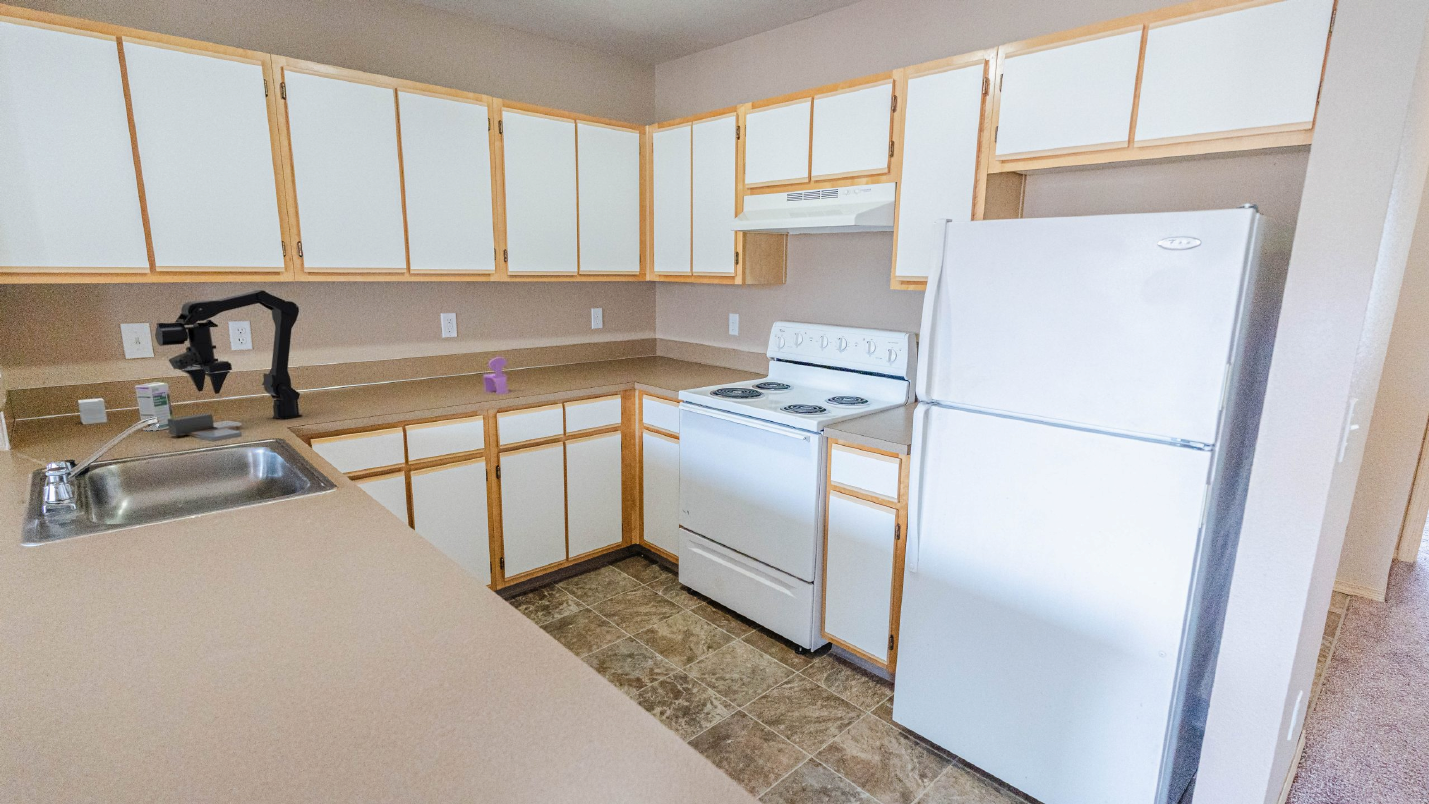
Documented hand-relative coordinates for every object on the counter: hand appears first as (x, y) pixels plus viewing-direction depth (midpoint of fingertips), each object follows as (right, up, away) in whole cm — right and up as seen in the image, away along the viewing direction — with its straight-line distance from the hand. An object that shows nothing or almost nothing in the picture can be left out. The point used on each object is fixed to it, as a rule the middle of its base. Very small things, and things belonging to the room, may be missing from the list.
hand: (208, 392), depth 210 cm
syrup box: (-17, -12, +1) cm, 21 cm away
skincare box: (-46, -10, +11) cm, 48 cm away
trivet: (+1, -12, -2) cm, 12 cm away
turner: (+1, -11, -3) cm, 12 cm away
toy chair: (+67, +1, +70) cm, 97 cm away
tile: (+11, -12, -5) cm, 17 cm away
